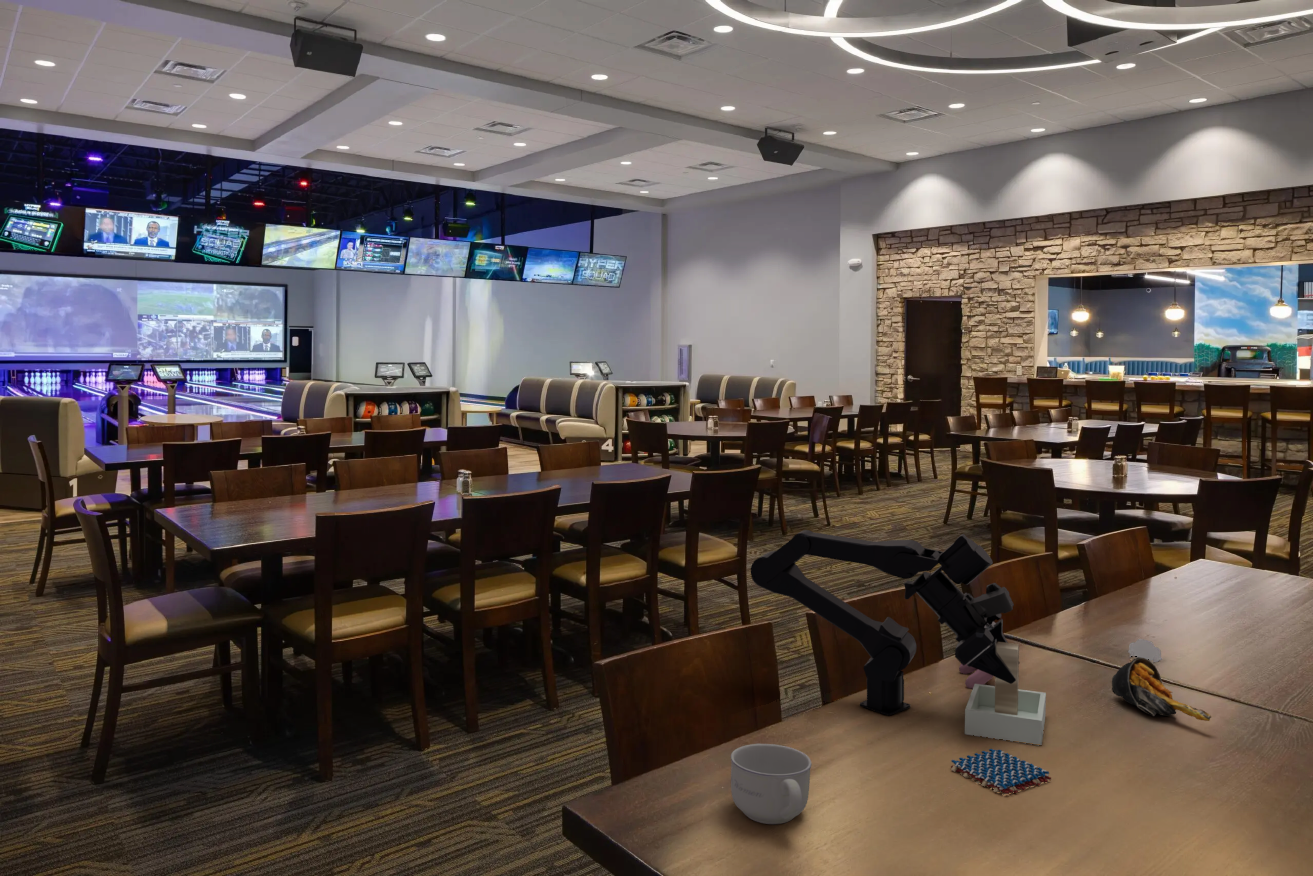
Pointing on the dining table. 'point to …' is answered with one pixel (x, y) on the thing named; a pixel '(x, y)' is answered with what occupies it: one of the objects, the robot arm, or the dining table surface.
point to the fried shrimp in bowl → (1149, 690)
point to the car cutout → (1145, 650)
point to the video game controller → (974, 676)
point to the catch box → (1006, 716)
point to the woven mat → (1000, 771)
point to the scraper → (1003, 690)
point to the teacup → (770, 782)
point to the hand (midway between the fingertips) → (1015, 673)
